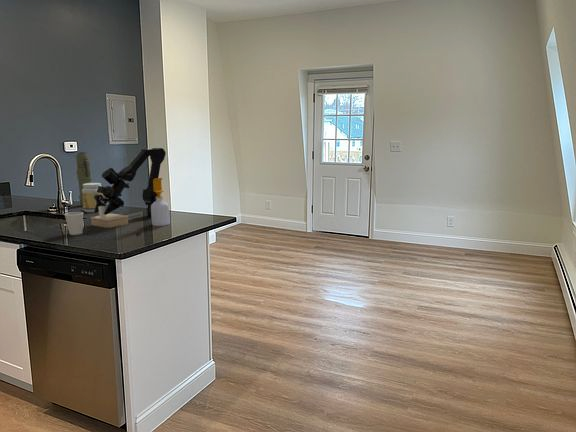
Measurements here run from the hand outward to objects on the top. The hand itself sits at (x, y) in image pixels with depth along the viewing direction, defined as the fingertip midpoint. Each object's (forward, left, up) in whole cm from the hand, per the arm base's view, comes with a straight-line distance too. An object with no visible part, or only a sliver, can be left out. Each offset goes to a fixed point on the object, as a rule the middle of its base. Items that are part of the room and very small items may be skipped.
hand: (99, 213), depth 224 cm
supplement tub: (+28, -45, -7) cm, 53 cm away
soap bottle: (-29, -7, -7) cm, 31 cm away
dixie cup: (+5, +15, -7) cm, 17 cm away
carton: (-3, -5, -7) cm, 9 cm away
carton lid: (-3, -5, -3) cm, 6 cm away
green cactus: (+43, -64, -7) cm, 77 cm away
